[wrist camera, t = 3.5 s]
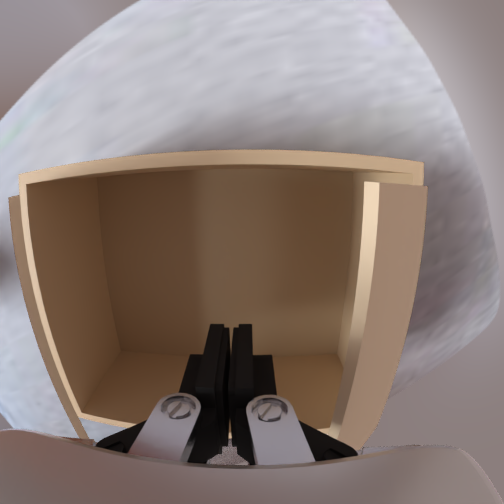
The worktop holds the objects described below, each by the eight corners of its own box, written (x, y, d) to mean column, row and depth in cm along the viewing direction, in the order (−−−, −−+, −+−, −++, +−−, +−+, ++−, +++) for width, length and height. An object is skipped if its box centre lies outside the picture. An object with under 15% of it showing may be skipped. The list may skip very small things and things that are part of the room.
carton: (340, 354, 24) (373, 426, 16) (118, 351, 24) (77, 416, 15) (358, 164, 20) (423, 162, 11) (94, 170, 20) (18, 174, 11)
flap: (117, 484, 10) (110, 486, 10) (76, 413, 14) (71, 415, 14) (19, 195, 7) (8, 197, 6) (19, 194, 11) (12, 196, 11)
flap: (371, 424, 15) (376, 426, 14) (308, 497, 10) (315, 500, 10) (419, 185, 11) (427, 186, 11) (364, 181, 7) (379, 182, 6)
